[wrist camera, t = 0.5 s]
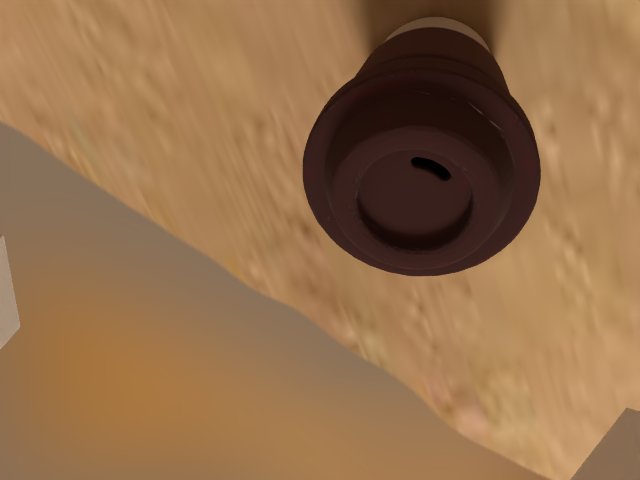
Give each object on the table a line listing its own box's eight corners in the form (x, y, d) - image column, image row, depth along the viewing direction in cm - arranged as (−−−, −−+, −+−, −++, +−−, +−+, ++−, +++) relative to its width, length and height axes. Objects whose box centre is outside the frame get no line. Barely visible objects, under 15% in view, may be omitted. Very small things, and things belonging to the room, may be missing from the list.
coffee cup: (400, 175, 40) (371, 326, 28) (320, 47, 36) (245, 157, 24) (546, 107, 36) (585, 251, 23) (471, -48, 32) (472, 30, 20)
